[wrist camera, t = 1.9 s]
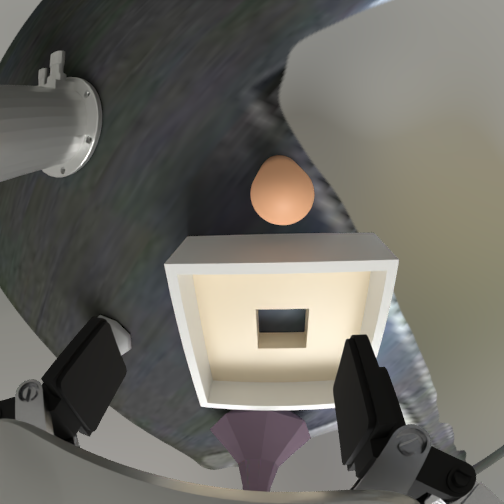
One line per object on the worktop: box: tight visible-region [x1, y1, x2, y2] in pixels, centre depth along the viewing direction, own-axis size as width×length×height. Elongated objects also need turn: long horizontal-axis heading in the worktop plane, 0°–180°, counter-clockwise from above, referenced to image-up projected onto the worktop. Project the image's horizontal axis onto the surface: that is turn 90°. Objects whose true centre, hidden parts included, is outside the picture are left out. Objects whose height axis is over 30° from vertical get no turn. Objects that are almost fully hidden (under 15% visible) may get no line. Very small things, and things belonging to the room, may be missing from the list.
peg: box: [251, 155, 314, 225], centre depth 22 cm, size 4×4×10 cm
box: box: [164, 233, 399, 410], centre depth 29 cm, size 20×20×7 cm
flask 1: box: [98, 315, 131, 355], centre depth 32 cm, size 7×7×10 cm
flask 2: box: [210, 409, 311, 492], centre depth 32 cm, size 16×16×20 cm
